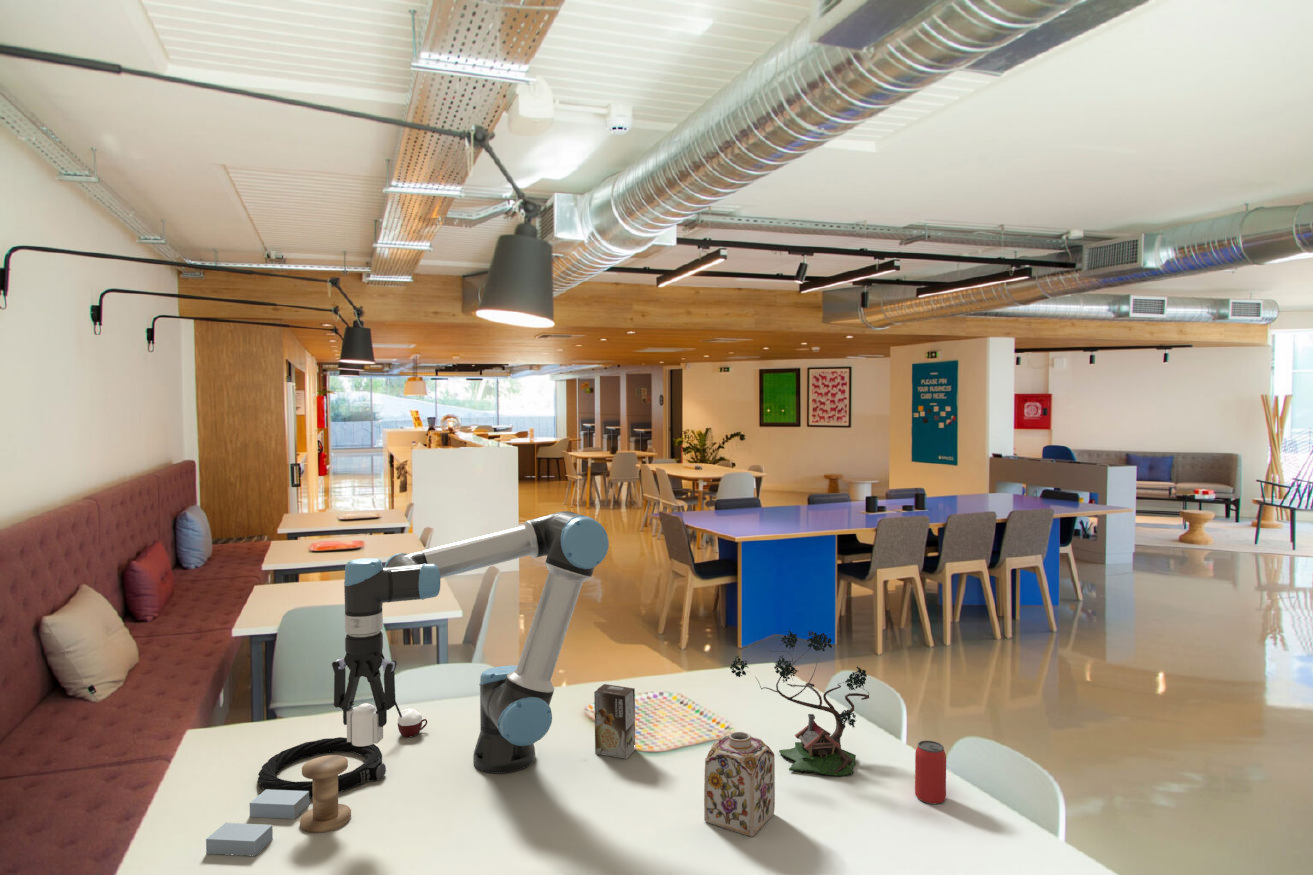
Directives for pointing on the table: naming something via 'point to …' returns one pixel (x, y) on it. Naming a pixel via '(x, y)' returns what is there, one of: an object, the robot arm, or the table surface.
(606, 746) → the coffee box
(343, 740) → the cable lock
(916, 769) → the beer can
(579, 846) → the table surface
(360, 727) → the capsule
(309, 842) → the table surface
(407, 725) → the cocoa
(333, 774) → the knob
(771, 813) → the decorative jar
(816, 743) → the bonsai tree
